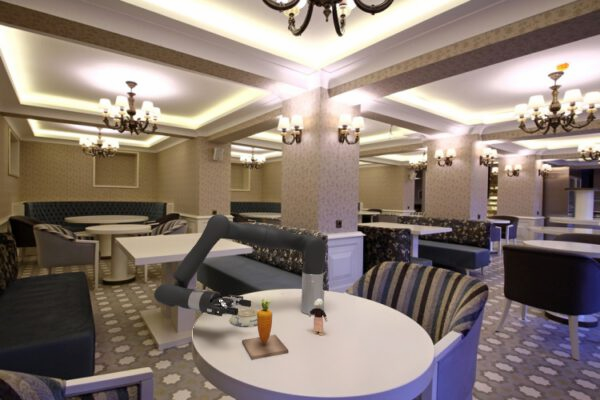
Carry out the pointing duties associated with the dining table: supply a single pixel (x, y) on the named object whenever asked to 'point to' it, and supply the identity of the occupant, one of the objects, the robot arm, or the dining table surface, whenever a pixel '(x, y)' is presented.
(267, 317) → the carrot
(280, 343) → the walnut board
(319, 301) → the grandmother figurine
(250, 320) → the decorative bowl
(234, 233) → the robot arm
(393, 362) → the dining table surface
